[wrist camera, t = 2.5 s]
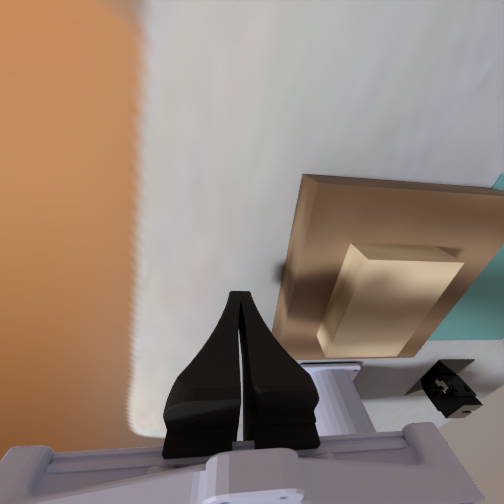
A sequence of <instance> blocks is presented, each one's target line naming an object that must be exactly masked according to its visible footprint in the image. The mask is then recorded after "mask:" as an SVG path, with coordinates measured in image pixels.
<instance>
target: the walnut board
mask: <svg viewBox="0 0 504 504" xmlns="http://www.w3.org/2000/svg"><path fill="white" fill-rule="evenodd" d="M350 243H364V244H388V245H413V246H435V247H437V248H439V249H441V250H443V251H444V252H446V253H448V254H450V255H452V256H453V257H455V258H457V259H459V260H461V261H462V262H464V264H463V266H462V267H461V268H460V270H459V271H458V273H457V274H456V275H455V277H454V278H453V279H452V281H451V282H450V284H449V285H448V286H447V288H446V289H445V291H444V292H443V293H442V295H441V296H440V297H439V299H438V300H437V302H436V303H435V304H434V306H433V307H432V308H431V310H430V311H429V313H428V314H427V315H426V317H425V318H424V319H423V321H422V322H421V324H420V325H419V326H418V328H417V329H416V331H415V332H414V333H413V335H412V336H411V337H410V339H409V340H408V342H407V343H406V344H405V346H404V347H403V348H402V350H401V351H400V353H399V354H398V355H397V356H386V357H339V358H326V357H325V355H324V352H323V350H322V348H321V345H320V343H319V340H318V338H317V333H318V330H319V328H320V325H321V322H322V319H323V317H324V314H325V311H326V309H327V306H328V303H329V300H330V298H331V295H332V292H333V289H334V287H335V284H336V281H337V278H338V276H339V273H340V270H341V267H342V265H343V262H344V259H345V256H346V254H347V251H348V248H349V246H350ZM503 244H504V191H500V190H495V189H490V188H483V187H470V186H457V185H443V184H430V183H417V182H404V181H390V180H377V179H364V178H351V177H337V176H324V175H311V174H302V179H301V185H300V190H299V195H298V200H297V205H296V210H295V216H294V221H293V226H292V231H291V236H290V241H289V247H288V252H287V257H286V262H285V267H284V272H283V277H282V283H281V288H280V293H279V298H278V303H277V308H276V314H275V319H274V324H273V329H272V334H273V336H274V337H275V338H276V340H277V341H278V342H279V343H280V345H281V346H282V347H283V348H284V349H285V350H286V351H287V352H288V354H289V355H290V356H291V357H292V358H293V359H294V360H322V359H366V358H411V357H414V356H415V355H416V354H417V352H418V351H419V350H420V349H421V347H422V346H423V345H424V344H425V342H426V341H427V340H428V339H429V337H430V336H431V335H432V334H433V332H434V331H435V330H436V328H437V327H438V326H439V325H440V323H441V322H442V321H443V320H444V318H445V317H446V316H447V315H448V313H449V312H450V311H451V310H452V308H453V307H454V306H455V305H456V303H457V302H458V301H459V300H460V298H461V297H462V296H463V295H464V293H465V292H466V291H467V290H468V288H469V287H470V286H471V285H472V283H473V282H474V281H475V280H476V278H477V277H478V276H479V275H480V273H481V272H482V271H483V270H484V268H485V267H486V266H487V264H488V263H489V262H490V261H491V259H492V258H493V257H494V256H495V254H496V253H497V252H498V251H499V249H500V248H501V247H502V246H503Z"/></svg>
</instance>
